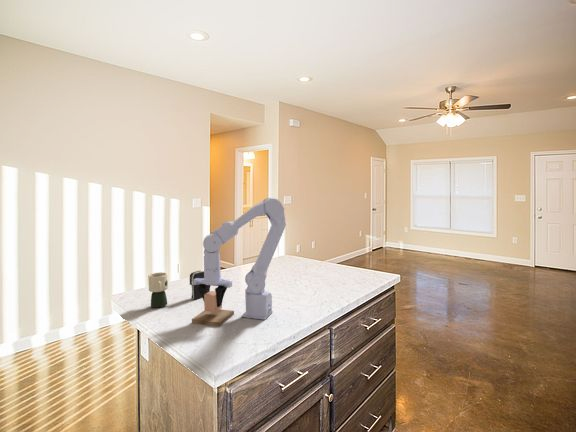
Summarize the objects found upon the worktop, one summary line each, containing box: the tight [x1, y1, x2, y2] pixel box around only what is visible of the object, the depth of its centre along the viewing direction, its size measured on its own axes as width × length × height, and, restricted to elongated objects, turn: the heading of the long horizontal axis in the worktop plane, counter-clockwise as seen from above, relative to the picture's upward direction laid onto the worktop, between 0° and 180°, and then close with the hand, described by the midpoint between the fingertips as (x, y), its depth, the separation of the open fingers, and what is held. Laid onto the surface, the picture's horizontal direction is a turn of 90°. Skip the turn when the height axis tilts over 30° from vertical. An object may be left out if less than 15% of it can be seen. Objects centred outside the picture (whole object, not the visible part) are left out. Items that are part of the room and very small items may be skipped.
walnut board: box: [191, 308, 235, 327], centre depth 119 cm, size 11×11×2 cm
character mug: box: [147, 272, 169, 308], centre depth 131 cm, size 11×7×13 cm, turn 28°
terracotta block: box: [203, 290, 223, 312], centre depth 118 cm, size 4×4×6 cm
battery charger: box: [189, 270, 204, 300], centre depth 142 cm, size 7×4×11 cm, turn 145°
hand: (213, 305), depth 118 cm, fingers closed on terracotta block, 4 cm apart
